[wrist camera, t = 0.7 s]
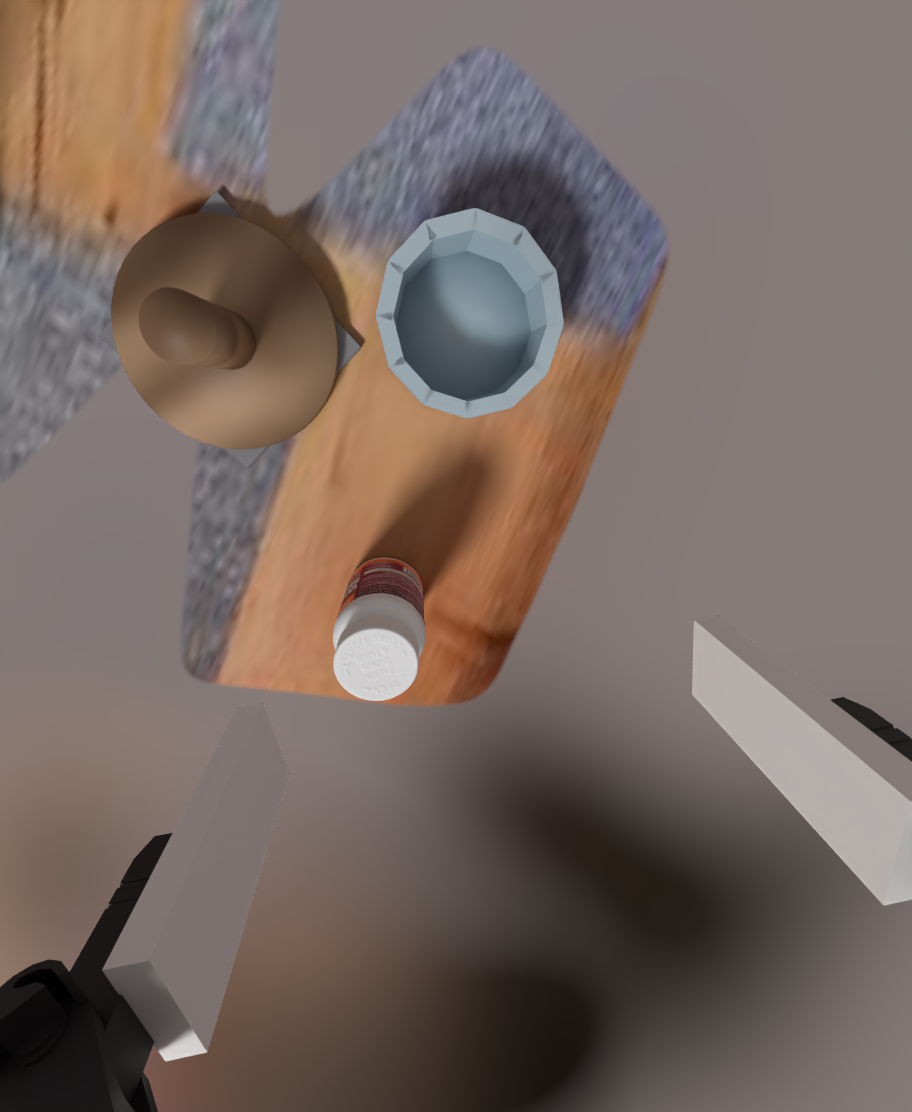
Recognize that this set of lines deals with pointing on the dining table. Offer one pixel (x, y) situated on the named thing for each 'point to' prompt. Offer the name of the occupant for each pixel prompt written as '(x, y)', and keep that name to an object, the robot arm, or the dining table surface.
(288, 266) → the lid
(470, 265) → the bowl
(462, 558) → the dining table surface
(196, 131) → the dining table surface
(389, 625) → the pill bottle
